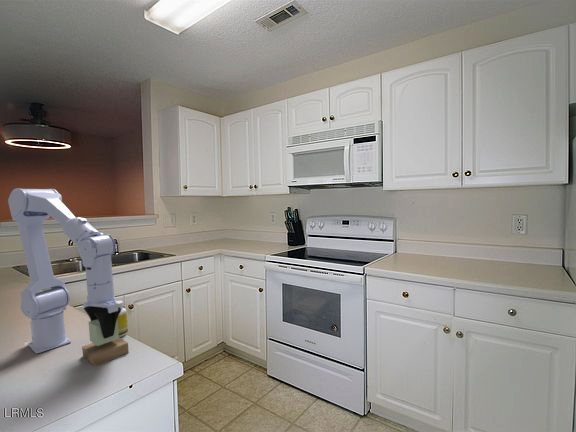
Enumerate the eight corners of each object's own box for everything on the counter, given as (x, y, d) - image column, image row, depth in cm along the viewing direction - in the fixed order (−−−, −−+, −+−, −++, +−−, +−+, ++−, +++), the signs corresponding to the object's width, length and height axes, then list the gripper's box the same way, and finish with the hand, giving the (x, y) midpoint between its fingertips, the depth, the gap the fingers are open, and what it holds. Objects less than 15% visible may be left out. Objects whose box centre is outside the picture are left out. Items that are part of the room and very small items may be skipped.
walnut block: (83, 357, 79) (82, 346, 79) (116, 345, 85) (115, 335, 85) (94, 367, 74) (93, 355, 74) (128, 353, 80) (127, 342, 80)
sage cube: (90, 340, 79) (88, 321, 78) (110, 333, 83) (109, 315, 82) (97, 346, 76) (95, 326, 75) (118, 338, 79) (117, 319, 79)
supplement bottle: (131, 330, 94) (129, 299, 93) (122, 338, 88) (120, 305, 88) (113, 331, 94) (111, 300, 93) (103, 339, 88) (100, 306, 88)
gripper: (72, 282, 80) (76, 332, 80) (93, 290, 71) (98, 347, 71) (101, 276, 85) (105, 323, 86) (125, 283, 76) (129, 336, 77)
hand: (104, 334), depth 79 cm, fingers closed on sage cube, 5 cm apart
